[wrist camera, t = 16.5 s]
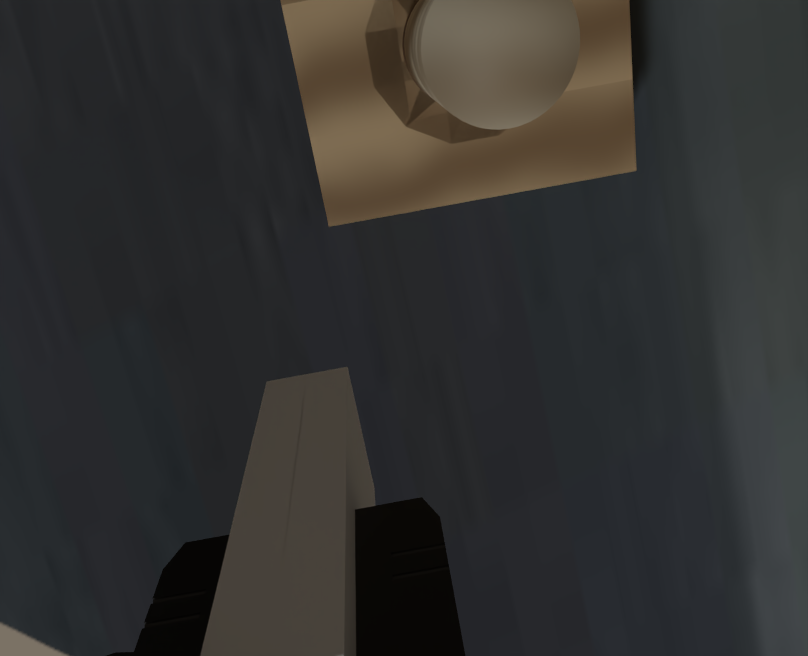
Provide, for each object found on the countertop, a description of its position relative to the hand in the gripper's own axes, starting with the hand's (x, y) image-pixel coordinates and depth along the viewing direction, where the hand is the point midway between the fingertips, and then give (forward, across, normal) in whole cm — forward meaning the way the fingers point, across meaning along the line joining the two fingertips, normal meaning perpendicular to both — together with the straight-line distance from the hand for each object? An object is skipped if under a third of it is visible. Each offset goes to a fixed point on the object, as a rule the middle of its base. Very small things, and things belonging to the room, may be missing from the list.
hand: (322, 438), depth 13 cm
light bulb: (+29, +7, +6) cm, 30 cm away
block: (+29, +7, +6) cm, 31 cm away
